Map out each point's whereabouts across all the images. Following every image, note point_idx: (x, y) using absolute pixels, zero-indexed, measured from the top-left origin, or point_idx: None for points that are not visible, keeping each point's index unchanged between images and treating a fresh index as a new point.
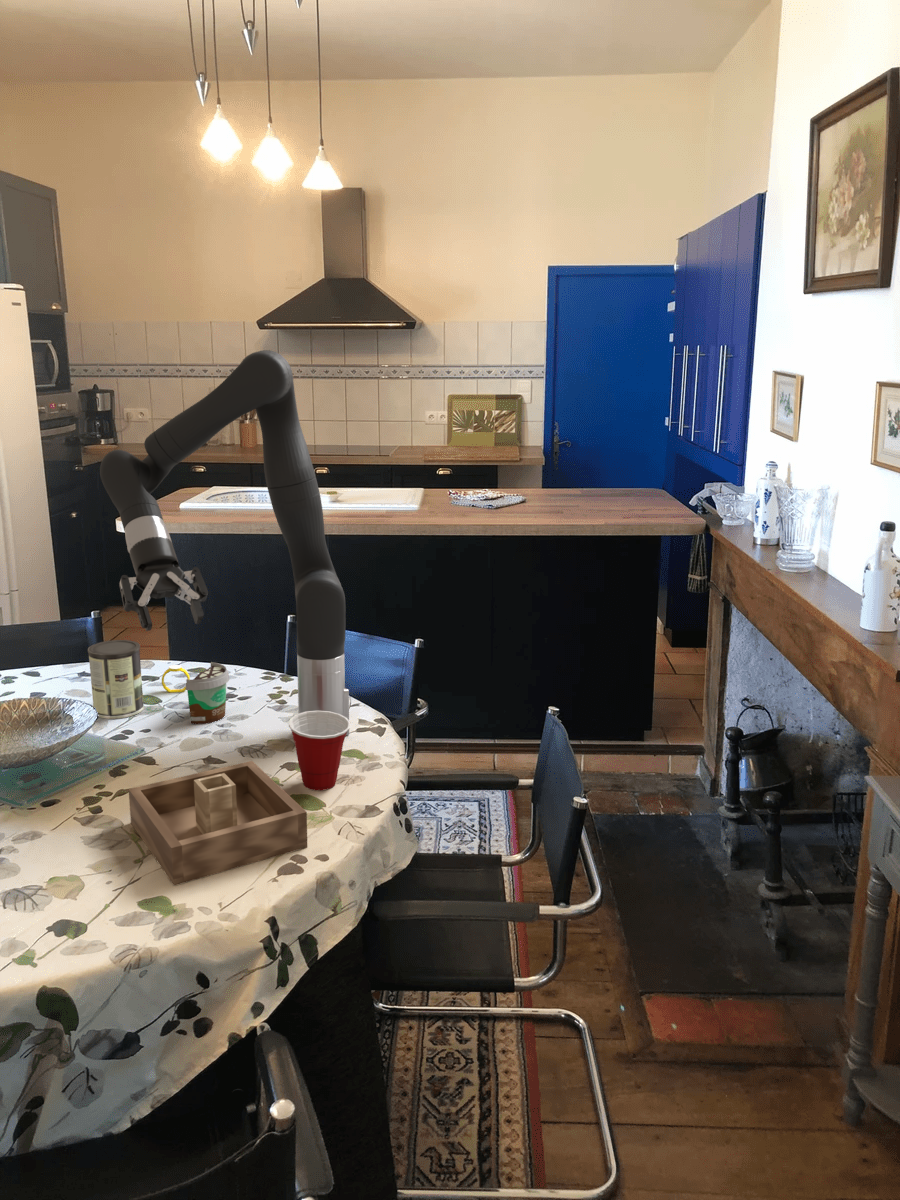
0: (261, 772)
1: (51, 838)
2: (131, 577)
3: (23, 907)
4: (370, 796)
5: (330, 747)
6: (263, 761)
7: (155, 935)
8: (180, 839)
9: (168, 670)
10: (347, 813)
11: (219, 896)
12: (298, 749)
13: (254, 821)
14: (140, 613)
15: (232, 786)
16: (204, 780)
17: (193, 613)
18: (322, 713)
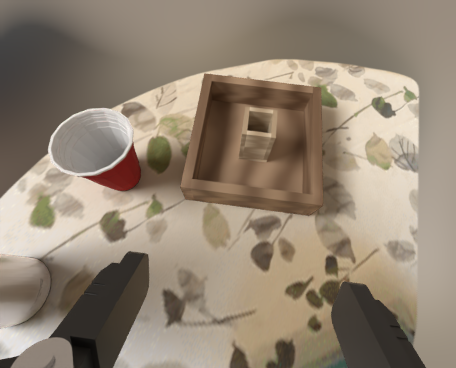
0: (189, 155)
1: (380, 233)
2: None
3: (409, 144)
4: None
5: (111, 125)
6: None
7: (336, 73)
8: (286, 151)
9: None
10: (147, 117)
11: (287, 83)
12: (133, 155)
13: (247, 84)
14: (419, 359)
15: (248, 107)
16: (265, 133)
17: (128, 316)
18: (61, 165)
